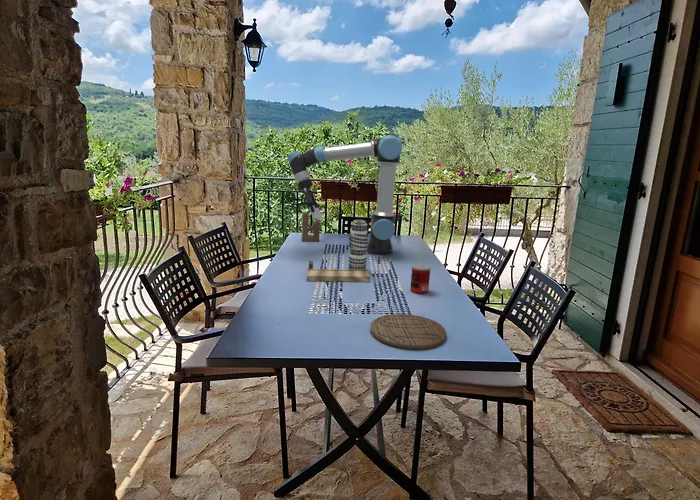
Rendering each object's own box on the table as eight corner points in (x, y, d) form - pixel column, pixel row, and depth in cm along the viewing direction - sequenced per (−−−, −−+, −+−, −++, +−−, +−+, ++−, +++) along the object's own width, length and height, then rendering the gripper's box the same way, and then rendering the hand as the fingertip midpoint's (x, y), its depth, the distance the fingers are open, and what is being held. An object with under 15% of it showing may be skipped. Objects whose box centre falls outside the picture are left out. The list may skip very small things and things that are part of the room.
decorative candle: (370, 271, 213) (373, 221, 207) (357, 275, 206) (360, 223, 200) (356, 267, 219) (359, 218, 213) (343, 270, 212) (345, 220, 206)
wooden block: (319, 242, 270) (319, 213, 266) (301, 241, 269) (302, 212, 265) (319, 240, 274) (319, 212, 269) (301, 240, 273) (302, 211, 269)
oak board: (366, 274, 208) (367, 269, 207) (369, 282, 197) (369, 276, 196) (307, 273, 205) (307, 268, 204) (307, 281, 194) (307, 275, 194)
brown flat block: (312, 268, 214) (313, 260, 213) (312, 272, 208) (313, 264, 207) (308, 268, 213) (308, 260, 212) (308, 272, 208) (308, 264, 207)
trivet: (455, 351, 135) (456, 345, 134) (375, 351, 133) (375, 345, 132) (434, 319, 159) (434, 314, 159) (366, 318, 157) (366, 313, 156)
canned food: (429, 289, 190) (431, 265, 187) (426, 295, 183) (428, 270, 180) (412, 287, 192) (414, 263, 190) (408, 292, 185) (410, 267, 182)
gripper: (301, 186, 241) (315, 222, 241) (291, 180, 216) (307, 220, 216) (314, 181, 241) (328, 217, 240) (305, 174, 216) (321, 214, 215)
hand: (318, 218), depth 228 cm, fingers open, 13 cm apart
